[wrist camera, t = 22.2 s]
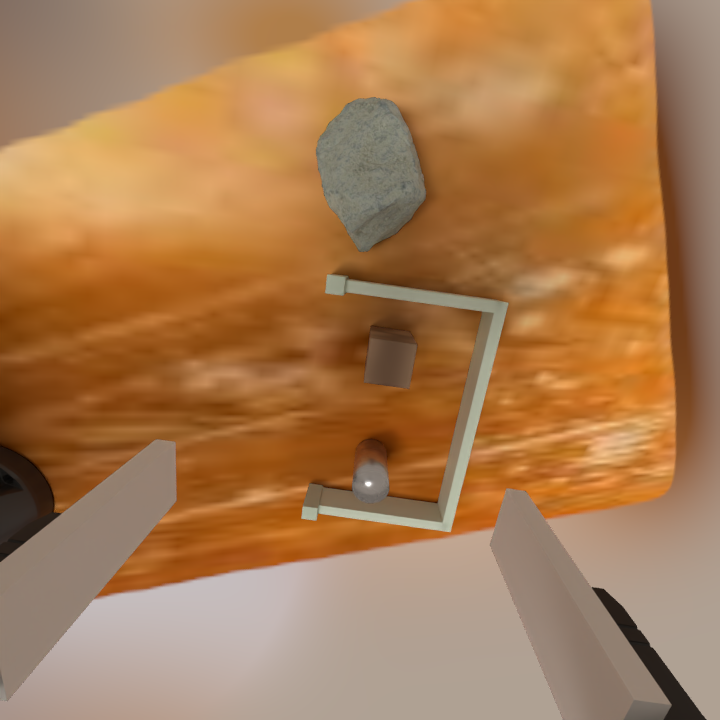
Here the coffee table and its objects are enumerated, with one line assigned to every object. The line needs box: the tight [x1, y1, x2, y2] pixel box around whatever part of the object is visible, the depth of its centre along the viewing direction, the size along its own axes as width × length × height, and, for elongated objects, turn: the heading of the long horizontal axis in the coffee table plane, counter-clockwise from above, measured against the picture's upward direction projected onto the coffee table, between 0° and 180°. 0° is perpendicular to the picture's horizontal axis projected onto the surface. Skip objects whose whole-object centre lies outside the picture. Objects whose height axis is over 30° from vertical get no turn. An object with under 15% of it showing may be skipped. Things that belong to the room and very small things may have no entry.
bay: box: [302, 274, 509, 532], centre depth 39 cm, size 18×29×4 cm, turn 172°
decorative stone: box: [316, 97, 426, 252], centre depth 32 cm, size 13×11×10 cm
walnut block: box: [364, 326, 417, 389], centre depth 36 cm, size 4×4×7 cm
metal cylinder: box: [352, 439, 389, 503], centre depth 39 cm, size 4×4×7 cm
